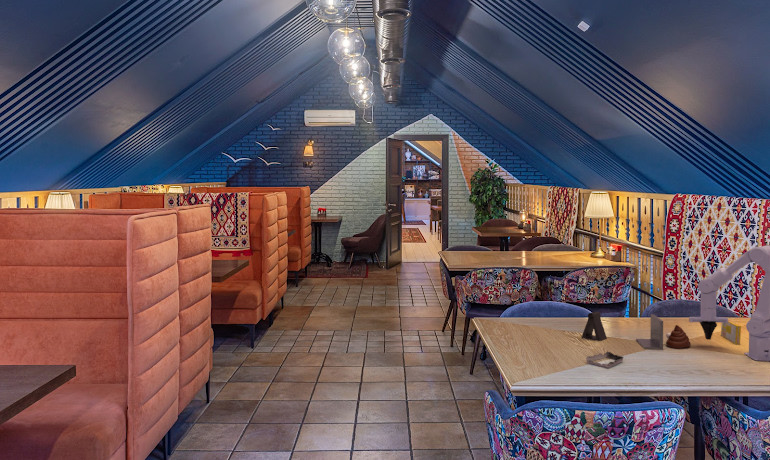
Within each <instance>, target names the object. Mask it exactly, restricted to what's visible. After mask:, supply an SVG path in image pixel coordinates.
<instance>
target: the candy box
mask: <svg viewBox="0 0 770 460" xmlns="http://www.w3.org/2000/svg"><path fill="white" fill-rule="evenodd" d="M741 331H742V326H741V325H739V324H737V323H736V322H734V321H731V320H730V319H728V323H725V322H721V325H720V336H721V337H723V338H724V339H726V340H728V341H730V342H731V343H733V345H741V333H742V332H741Z"/></svg>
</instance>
